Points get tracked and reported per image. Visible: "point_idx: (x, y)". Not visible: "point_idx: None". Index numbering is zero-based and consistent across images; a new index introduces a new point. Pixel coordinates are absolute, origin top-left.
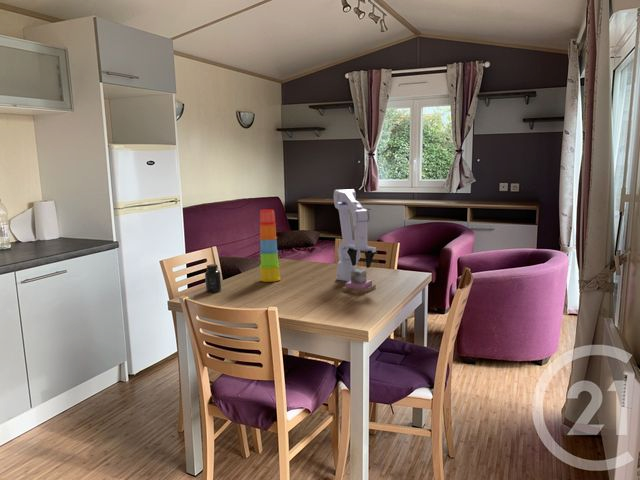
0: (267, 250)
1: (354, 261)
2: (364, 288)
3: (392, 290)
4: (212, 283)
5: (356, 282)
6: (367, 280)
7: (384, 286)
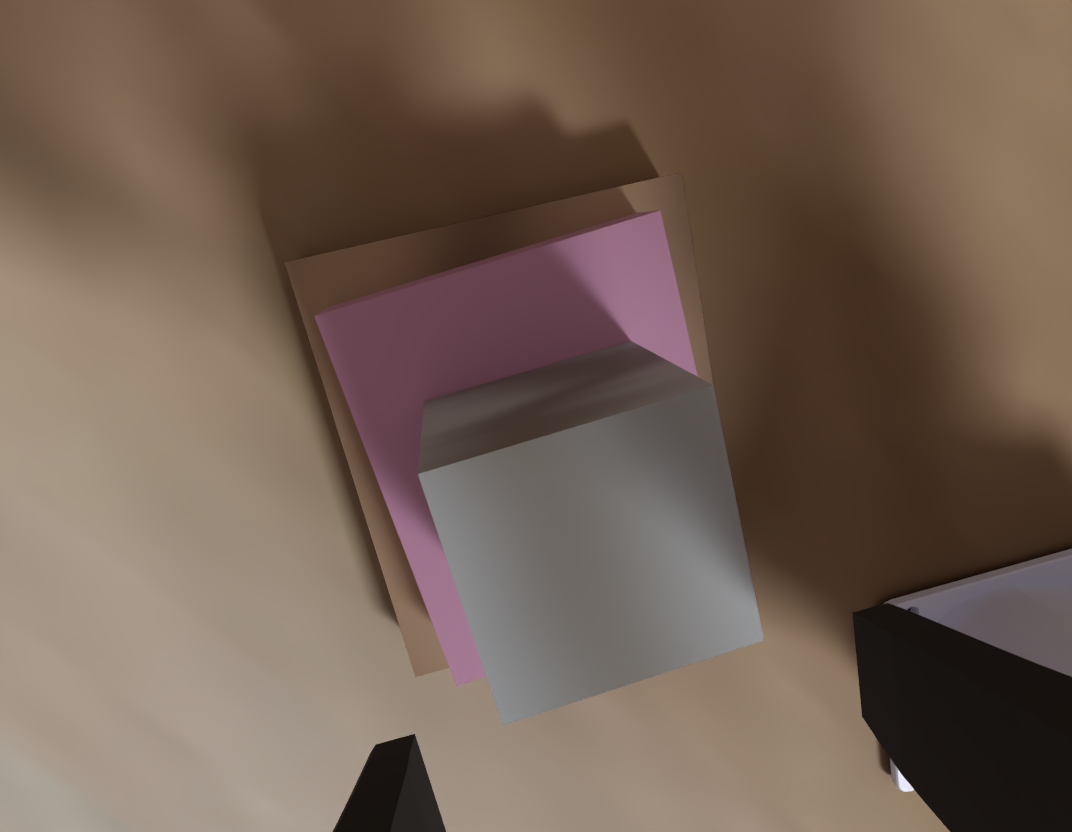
0: None
1: (939, 743)
2: None
3: (176, 745)
4: None
5: (516, 375)
6: None
7: None
